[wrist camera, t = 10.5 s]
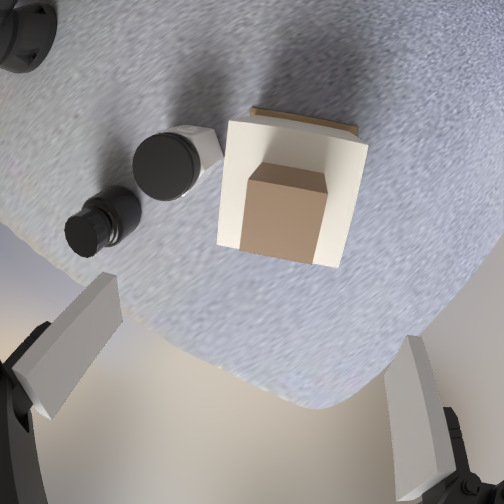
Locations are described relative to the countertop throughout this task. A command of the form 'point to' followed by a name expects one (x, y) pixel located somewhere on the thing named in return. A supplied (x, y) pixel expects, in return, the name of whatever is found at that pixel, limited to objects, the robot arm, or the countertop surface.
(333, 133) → the cover
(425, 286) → the countertop surface
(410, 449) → the robot arm
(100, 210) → the ink bottle
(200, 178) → the jar
